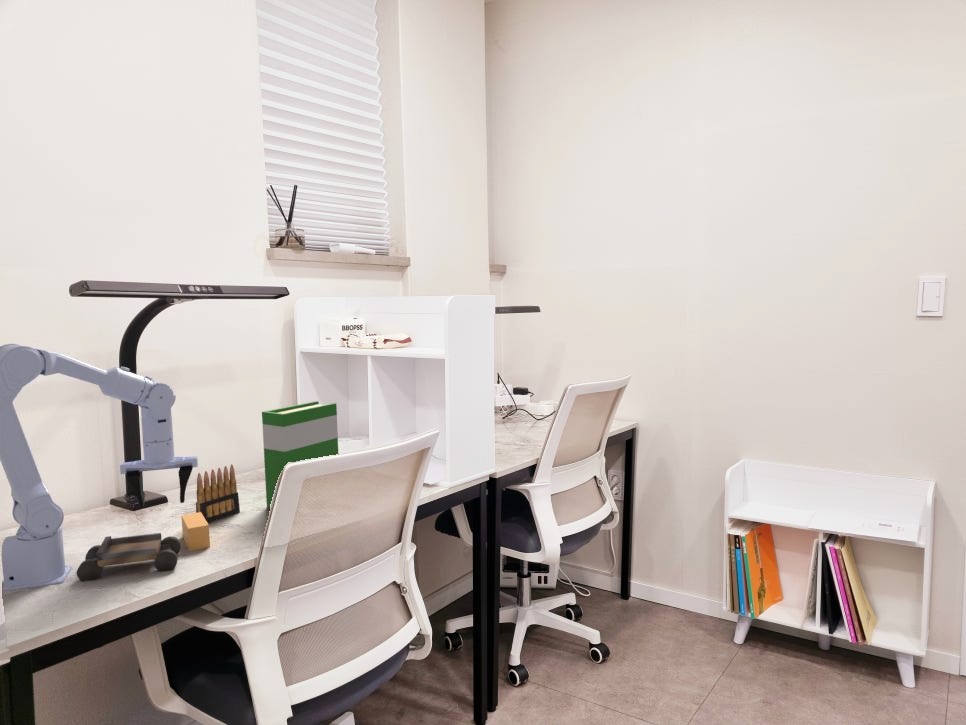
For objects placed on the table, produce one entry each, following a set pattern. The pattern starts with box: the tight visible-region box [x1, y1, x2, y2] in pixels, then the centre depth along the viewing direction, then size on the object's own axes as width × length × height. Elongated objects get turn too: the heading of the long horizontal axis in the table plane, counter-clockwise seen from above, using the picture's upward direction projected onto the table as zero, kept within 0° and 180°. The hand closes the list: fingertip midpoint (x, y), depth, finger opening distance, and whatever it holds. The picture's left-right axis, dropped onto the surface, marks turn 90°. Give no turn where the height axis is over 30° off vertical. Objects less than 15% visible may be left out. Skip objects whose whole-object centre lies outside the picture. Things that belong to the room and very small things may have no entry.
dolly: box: [76, 532, 182, 582], centre depth 136 cm, size 17×9×6 cm, turn 109°
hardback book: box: [261, 400, 339, 509], centre depth 176 cm, size 18×7×24 cm, turn 147°
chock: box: [181, 512, 211, 552], centre depth 150 cm, size 4×10×5 cm, turn 31°
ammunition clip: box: [195, 464, 241, 524], centre depth 165 cm, size 11×2×12 cm, turn 147°
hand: (162, 503), depth 146 cm, fingers open, 7 cm apart
